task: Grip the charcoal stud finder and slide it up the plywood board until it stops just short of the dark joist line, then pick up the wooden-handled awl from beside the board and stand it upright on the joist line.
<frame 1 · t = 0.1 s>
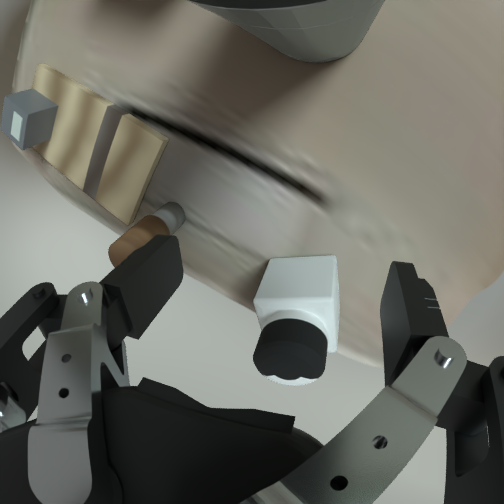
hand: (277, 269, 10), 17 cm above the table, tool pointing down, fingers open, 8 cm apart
stud finder: (41, 112, 27), point 1 cm above the table, touching board
board: (80, 134, 29), on the table
medicine bottle: (306, 281, 32), on the table
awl: (173, 214, 32), on the table
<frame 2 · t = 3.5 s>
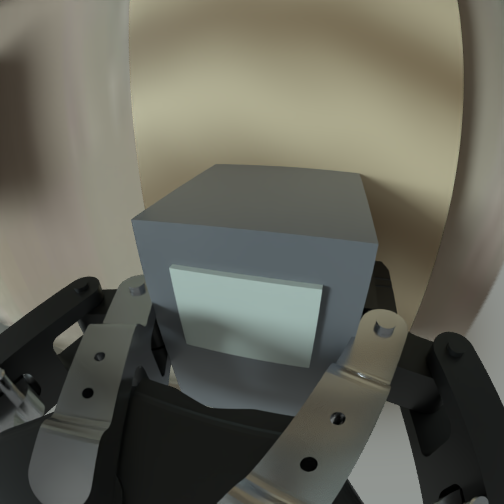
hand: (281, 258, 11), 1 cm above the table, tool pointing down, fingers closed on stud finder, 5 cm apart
stud finder: (283, 256, 11), point 1 cm above the table, touching board, gripper
board: (289, 43, 8), on the table
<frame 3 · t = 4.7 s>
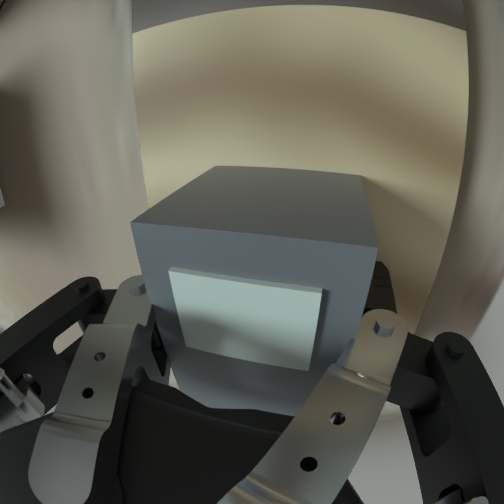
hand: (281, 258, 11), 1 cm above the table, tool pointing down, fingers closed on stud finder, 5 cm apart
stud finder: (283, 258, 11), point 1 cm above the table, touching gripper
board: (296, 109, 9), on the table
when the fingers open (2 cm above the table, at t = 5.9 s): stud finder stays where it is, resting on board.
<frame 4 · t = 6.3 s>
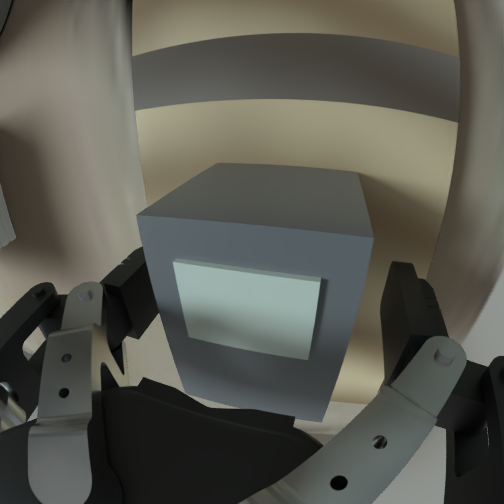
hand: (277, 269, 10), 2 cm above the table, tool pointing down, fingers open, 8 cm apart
stud finder: (282, 253, 12), point 1 cm above the table, touching board
board: (290, 194, 11), on the table
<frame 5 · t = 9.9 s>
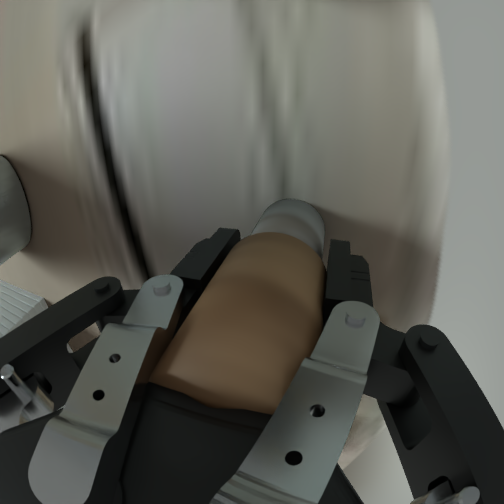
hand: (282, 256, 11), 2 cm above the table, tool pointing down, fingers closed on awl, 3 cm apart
white rectangular block: (8, 303, 31), on the table
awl: (292, 230, 13), on the table, touching gripper
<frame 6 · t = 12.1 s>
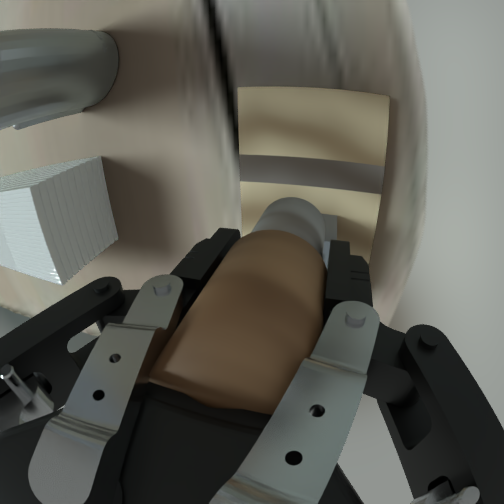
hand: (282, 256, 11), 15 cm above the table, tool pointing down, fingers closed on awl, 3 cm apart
stud finder: (305, 247, 26), point 1 cm above the table, touching board
white rectangular block: (42, 200, 36), on the table
board: (308, 222, 26), on the table
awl: (292, 228, 13), point 13 cm above the table, touching gripper
when the fingers open (5 cm above the table, at t = 14.3 s): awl stays where it is, resting on board.
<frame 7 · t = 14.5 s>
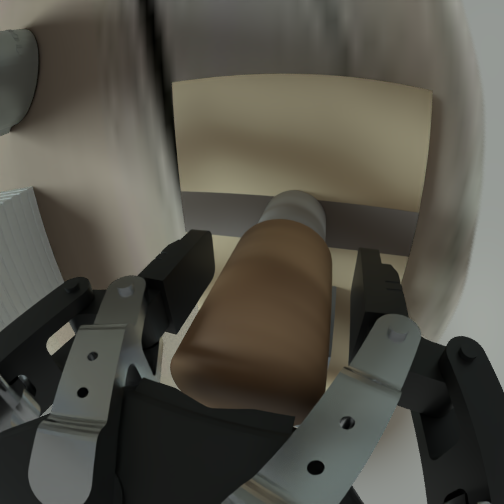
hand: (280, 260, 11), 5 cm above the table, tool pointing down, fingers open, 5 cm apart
board: (293, 289, 18), on the table
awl: (294, 219, 14), point 1 cm above the table, touching board
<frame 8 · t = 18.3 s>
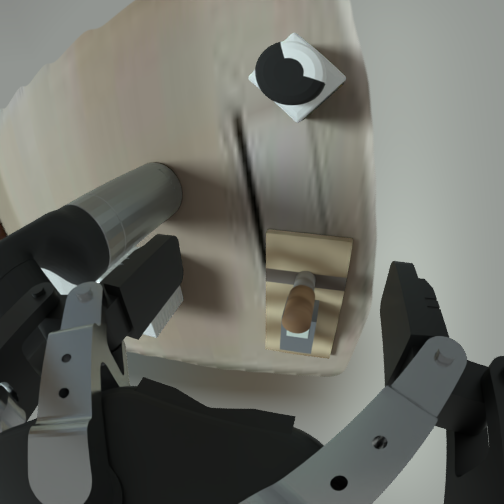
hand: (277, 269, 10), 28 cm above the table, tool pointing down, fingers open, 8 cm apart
stud finder: (301, 315, 46), point 1 cm above the table, touching board
white rectangular block: (114, 265, 56), on the table
board: (304, 300, 46), on the table
medicine bottle: (303, 80, 30), on the table
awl: (305, 279, 43), point 1 cm above the table, touching board
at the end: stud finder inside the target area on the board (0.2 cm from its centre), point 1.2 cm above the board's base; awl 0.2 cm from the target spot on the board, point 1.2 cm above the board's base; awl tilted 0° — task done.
